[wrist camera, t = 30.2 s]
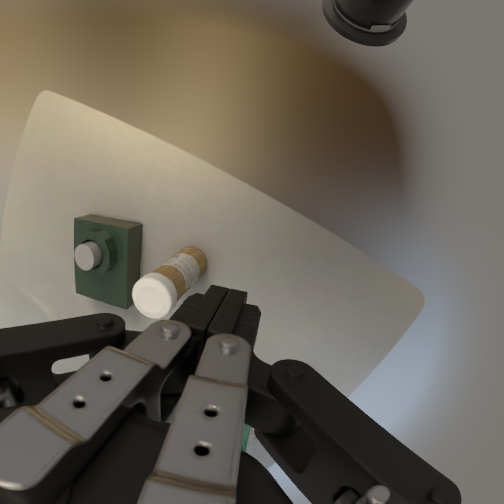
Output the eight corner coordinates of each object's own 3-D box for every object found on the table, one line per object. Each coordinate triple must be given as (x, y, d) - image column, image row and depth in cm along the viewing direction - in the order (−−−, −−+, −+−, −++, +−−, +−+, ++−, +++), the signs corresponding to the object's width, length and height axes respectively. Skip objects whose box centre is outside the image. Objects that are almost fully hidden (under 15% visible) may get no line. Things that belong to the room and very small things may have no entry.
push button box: (89, 214, 42) (65, 220, 36) (142, 223, 41) (120, 231, 35) (89, 284, 45) (68, 297, 39) (139, 299, 44) (120, 315, 38)
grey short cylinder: (82, 238, 37) (73, 242, 35) (102, 243, 36) (93, 247, 34) (83, 263, 38) (74, 267, 36) (102, 268, 37) (94, 273, 35)
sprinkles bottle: (182, 279, 42) (139, 322, 29) (173, 249, 41) (124, 282, 28) (211, 274, 41) (176, 318, 28) (203, 242, 40) (162, 274, 27)
